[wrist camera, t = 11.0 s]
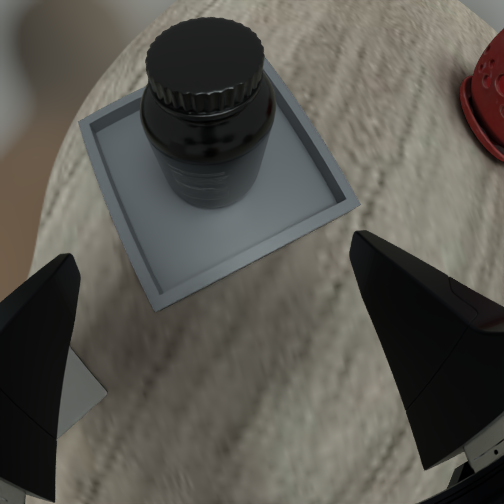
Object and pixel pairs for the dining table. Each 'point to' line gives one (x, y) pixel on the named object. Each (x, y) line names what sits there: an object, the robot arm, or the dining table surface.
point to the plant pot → (487, 98)
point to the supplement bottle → (208, 109)
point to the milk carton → (77, 393)
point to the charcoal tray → (219, 218)
